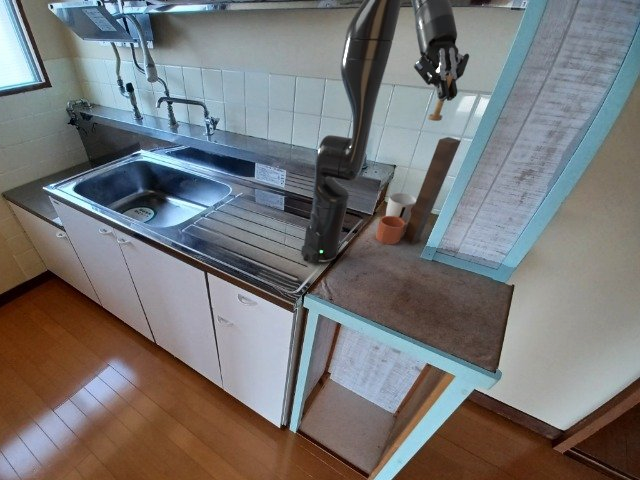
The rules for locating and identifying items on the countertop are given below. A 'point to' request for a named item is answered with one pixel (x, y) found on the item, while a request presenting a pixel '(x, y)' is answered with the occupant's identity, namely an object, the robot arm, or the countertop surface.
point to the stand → (430, 188)
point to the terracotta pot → (390, 229)
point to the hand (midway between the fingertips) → (448, 98)
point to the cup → (400, 205)
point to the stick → (440, 104)
